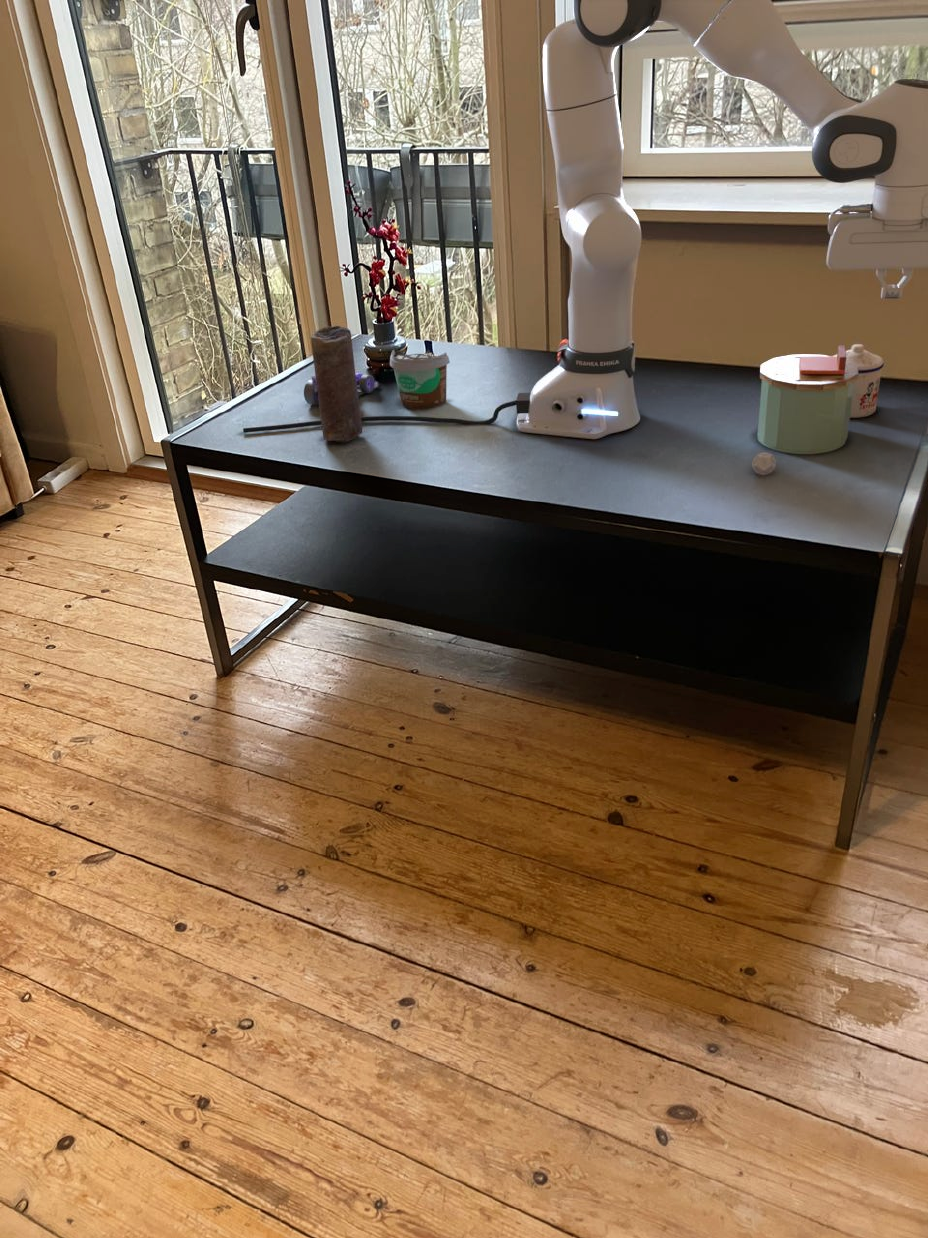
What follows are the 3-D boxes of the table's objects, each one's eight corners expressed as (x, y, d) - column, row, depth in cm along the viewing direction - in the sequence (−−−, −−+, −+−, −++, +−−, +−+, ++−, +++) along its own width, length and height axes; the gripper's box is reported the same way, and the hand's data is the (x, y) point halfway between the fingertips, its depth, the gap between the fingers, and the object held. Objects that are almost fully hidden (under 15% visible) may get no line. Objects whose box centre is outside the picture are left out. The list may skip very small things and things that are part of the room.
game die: (756, 466, 163) (757, 448, 161) (778, 470, 161) (780, 452, 159) (747, 474, 160) (749, 456, 159) (770, 478, 158) (772, 460, 157)
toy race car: (384, 387, 210) (380, 356, 207) (344, 412, 199) (339, 380, 196) (346, 383, 214) (342, 352, 211) (305, 407, 203) (300, 375, 200)
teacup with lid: (867, 422, 174) (877, 355, 168) (815, 414, 179) (822, 349, 173) (888, 399, 183) (897, 336, 176) (837, 393, 187) (845, 330, 181)
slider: (800, 373, 162) (801, 358, 161) (799, 359, 168) (800, 344, 166) (844, 374, 160) (846, 358, 159) (842, 359, 166) (844, 344, 165)
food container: (383, 408, 199) (377, 359, 194) (397, 398, 204) (391, 349, 199) (441, 412, 195) (436, 362, 189) (453, 401, 199) (448, 352, 194)
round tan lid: (759, 389, 161) (759, 383, 161) (760, 359, 173) (760, 353, 173) (860, 390, 157) (860, 384, 157) (854, 360, 169) (855, 354, 169)
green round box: (756, 453, 167) (761, 388, 161) (758, 421, 179) (762, 360, 173) (848, 455, 163) (857, 390, 158) (843, 422, 175) (851, 360, 169)
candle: (370, 432, 189) (356, 325, 178) (354, 447, 183) (339, 338, 172) (334, 430, 191) (318, 325, 181) (317, 445, 185) (299, 337, 175)
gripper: (830, 209, 149) (821, 304, 156) (982, 203, 144) (965, 302, 151) (828, 201, 154) (819, 293, 161) (975, 195, 149) (959, 290, 156)
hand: (891, 297), depth 156 cm, fingers closed
